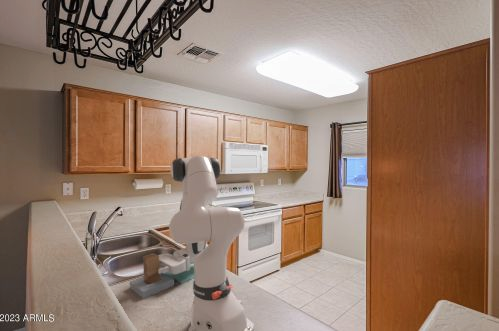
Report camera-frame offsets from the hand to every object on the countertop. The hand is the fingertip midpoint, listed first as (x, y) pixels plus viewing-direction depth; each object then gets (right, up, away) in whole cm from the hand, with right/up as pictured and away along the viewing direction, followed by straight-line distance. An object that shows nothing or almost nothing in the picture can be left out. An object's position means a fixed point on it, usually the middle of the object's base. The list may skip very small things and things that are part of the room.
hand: (152, 268), depth 109 cm
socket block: (0, -8, 0) cm, 8 cm away
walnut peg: (0, -8, 0) cm, 8 cm away
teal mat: (+12, -7, +12) cm, 18 cm away
